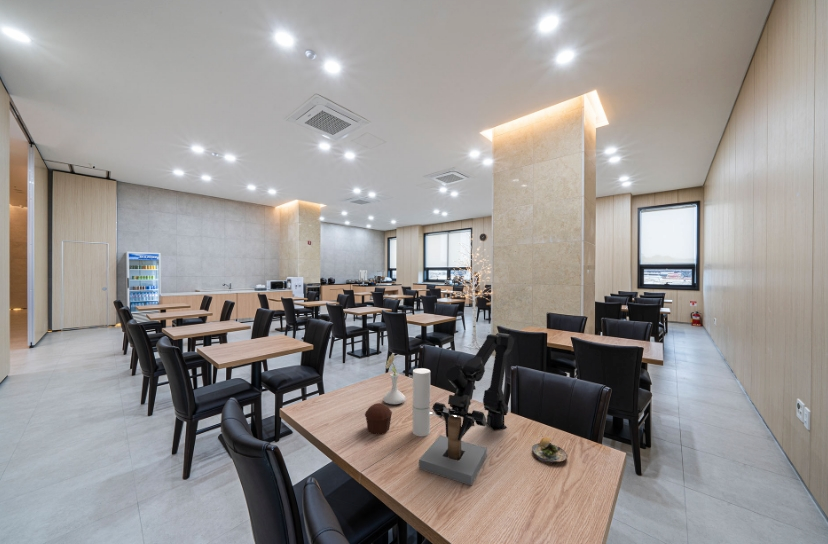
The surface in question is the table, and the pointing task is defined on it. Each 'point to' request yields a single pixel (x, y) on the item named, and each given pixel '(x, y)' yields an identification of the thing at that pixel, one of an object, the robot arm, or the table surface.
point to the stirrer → (437, 415)
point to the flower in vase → (393, 386)
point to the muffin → (378, 418)
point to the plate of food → (548, 452)
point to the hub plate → (454, 461)
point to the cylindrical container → (421, 402)
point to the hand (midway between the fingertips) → (452, 438)
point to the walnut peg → (454, 437)
